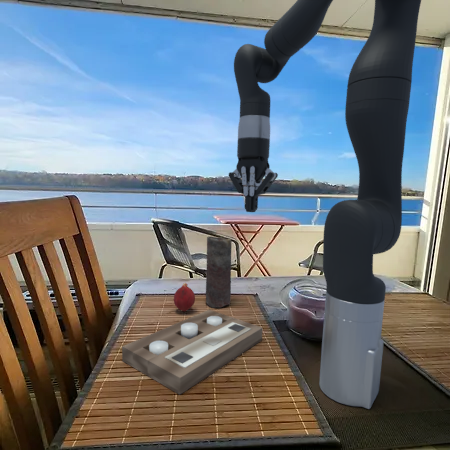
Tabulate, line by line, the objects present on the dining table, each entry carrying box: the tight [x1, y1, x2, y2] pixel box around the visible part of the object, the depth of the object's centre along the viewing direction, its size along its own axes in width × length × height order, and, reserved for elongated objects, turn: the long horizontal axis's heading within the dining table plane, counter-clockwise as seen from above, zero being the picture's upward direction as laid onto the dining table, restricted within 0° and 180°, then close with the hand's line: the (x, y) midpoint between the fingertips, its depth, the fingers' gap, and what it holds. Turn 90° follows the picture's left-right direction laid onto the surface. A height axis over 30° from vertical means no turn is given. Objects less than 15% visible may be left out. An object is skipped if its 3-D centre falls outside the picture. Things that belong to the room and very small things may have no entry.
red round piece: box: [173, 282, 196, 313], centre depth 90 cm, size 6×6×8 cm
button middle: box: [181, 323, 198, 339], centre depth 71 cm, size 4×4×2 cm
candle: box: [205, 236, 232, 309], centre depth 96 cm, size 8×7×20 cm
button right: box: [207, 316, 222, 326], centre depth 78 cm, size 4×4×2 cm
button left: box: [149, 341, 168, 355], centre depth 64 cm, size 4×4×2 cm
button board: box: [121, 309, 263, 395], centre depth 69 cm, size 16×26×3 cm, turn 142°
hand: (250, 211), depth 79 cm, fingers closed
